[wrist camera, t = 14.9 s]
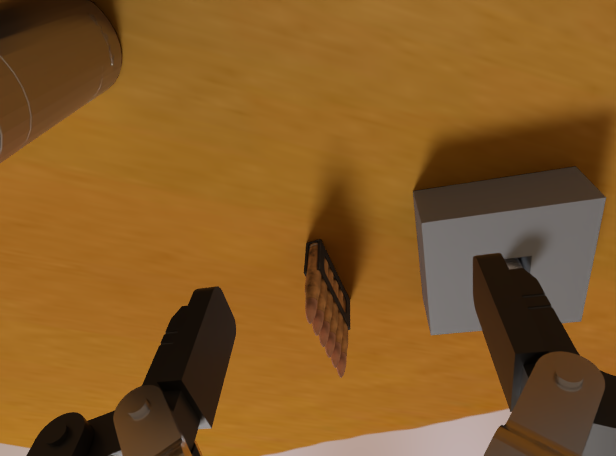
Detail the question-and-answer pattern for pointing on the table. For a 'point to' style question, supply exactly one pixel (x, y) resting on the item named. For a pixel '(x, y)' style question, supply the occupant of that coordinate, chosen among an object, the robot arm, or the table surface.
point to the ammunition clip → (327, 304)
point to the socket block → (507, 240)
